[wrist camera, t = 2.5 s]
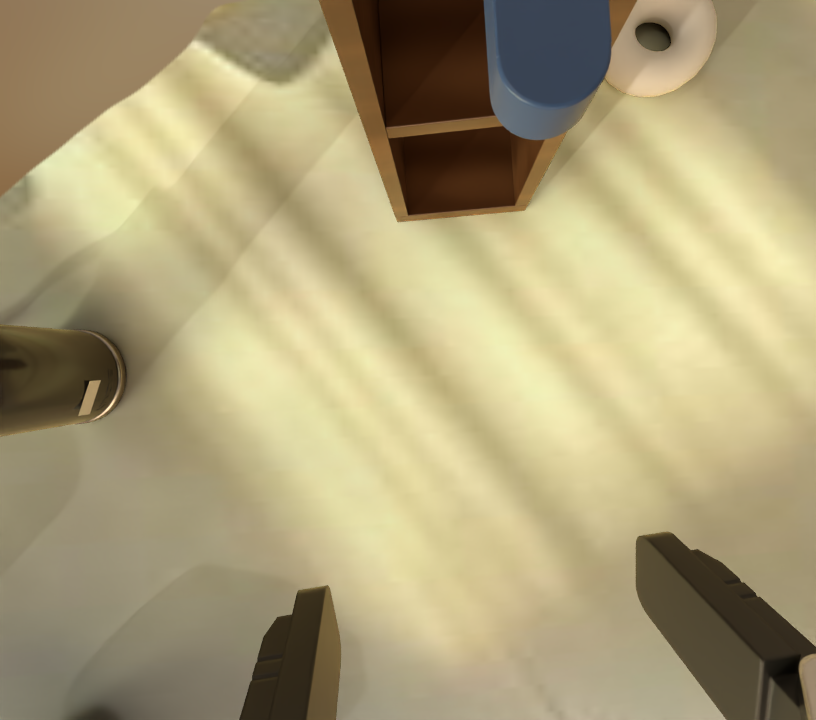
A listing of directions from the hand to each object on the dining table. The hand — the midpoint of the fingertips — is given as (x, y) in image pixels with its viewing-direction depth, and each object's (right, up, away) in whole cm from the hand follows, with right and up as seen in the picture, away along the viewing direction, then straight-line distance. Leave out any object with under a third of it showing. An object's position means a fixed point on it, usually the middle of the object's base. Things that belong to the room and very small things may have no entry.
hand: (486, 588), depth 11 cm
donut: (+19, +34, +28) cm, 48 cm away
